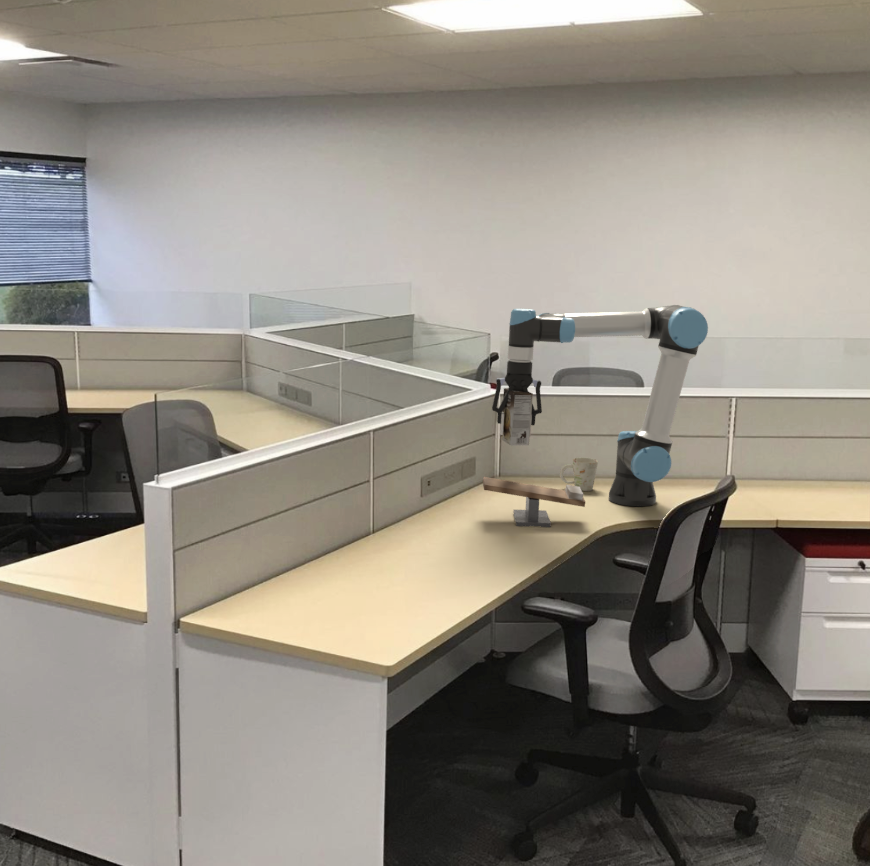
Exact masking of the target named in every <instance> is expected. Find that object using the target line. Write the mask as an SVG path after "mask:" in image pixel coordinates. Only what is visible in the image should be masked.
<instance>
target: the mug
mask: <svg viewBox="0 0 870 866" xmlns="http://www.w3.org/2000/svg"><path fill="white" fill-rule="evenodd" d="M598 464H599V461H598V460H597V459H595V458H590V457H576V458H573V459H572V464H571V463H570V464H569V463H568V464H565V465H564V464H563V466H562V467H561V469H560V470H559V477H560V479H561V481H562V482H563V483H565V484H567V485H573V484H574V485H573V486H577V487H580V489H581V491H582V492H590V491H593V489H594V484H595V479H596V473H597V469H598V468H597V467H598ZM566 469H573V471H572V472H573V480H567V479H566V478H565V476H564V472H565V470H566Z"/></svg>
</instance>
